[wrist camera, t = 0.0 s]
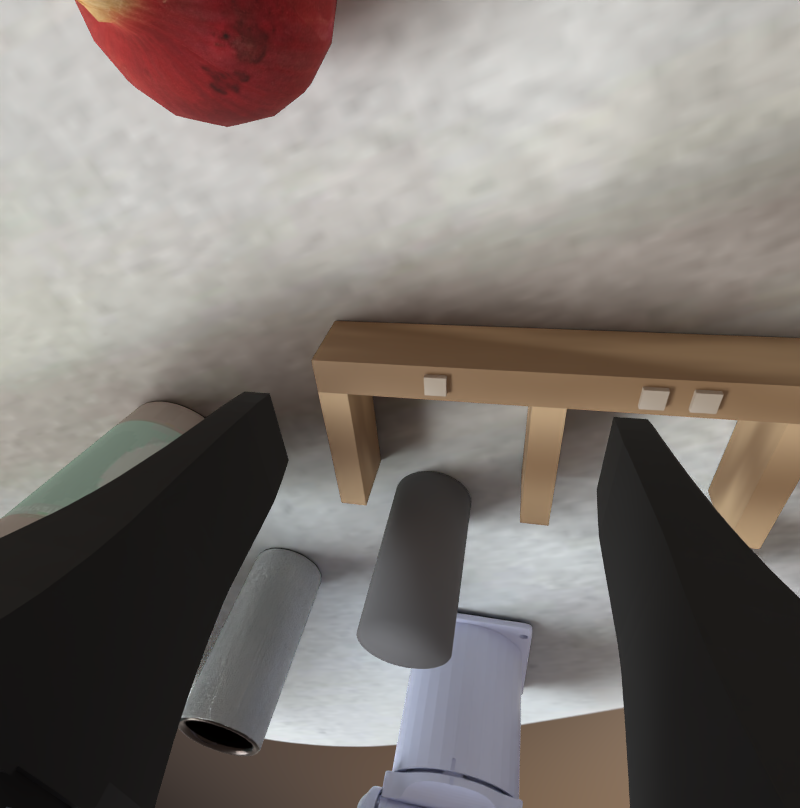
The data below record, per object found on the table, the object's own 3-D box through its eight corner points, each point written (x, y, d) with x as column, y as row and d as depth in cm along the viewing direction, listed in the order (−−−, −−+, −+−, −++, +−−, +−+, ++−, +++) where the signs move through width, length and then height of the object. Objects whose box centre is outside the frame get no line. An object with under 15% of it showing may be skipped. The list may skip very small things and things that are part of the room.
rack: (737, 493, 23) (760, 553, 21) (358, 458, 27) (340, 505, 24) (811, 338, 18) (854, 393, 16) (335, 320, 22) (309, 363, 19)
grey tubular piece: (249, 544, 34) (162, 712, 26) (314, 551, 33) (244, 728, 25) (267, 584, 37) (193, 747, 29) (328, 591, 36) (269, 763, 28)
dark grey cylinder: (470, 526, 28) (452, 675, 22) (399, 518, 29) (362, 659, 23) (471, 475, 26) (451, 626, 20) (393, 468, 27) (350, 611, 21)
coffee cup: (269, 502, 31) (156, 722, 21) (141, 486, 32) (-15, 684, 23) (232, 385, 25) (61, 611, 16) (82, 373, 27) (-152, 572, 18)
